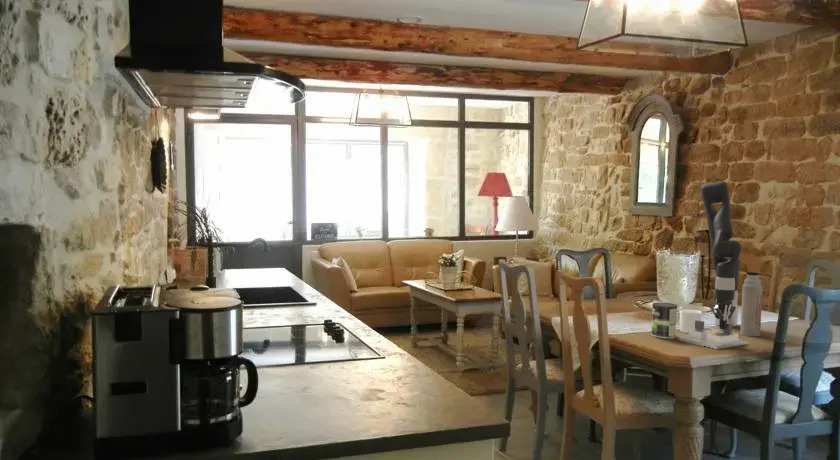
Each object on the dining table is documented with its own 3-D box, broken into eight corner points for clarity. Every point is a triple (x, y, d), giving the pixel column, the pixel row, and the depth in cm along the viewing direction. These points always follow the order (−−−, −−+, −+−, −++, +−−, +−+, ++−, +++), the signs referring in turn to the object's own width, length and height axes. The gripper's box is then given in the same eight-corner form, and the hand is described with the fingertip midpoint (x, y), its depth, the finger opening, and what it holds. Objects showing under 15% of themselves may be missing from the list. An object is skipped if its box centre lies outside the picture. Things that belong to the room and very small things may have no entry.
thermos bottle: (764, 335, 298) (767, 273, 296) (752, 337, 294) (755, 274, 293) (748, 331, 305) (750, 270, 303) (736, 333, 301) (739, 271, 300)
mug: (703, 331, 304) (704, 311, 304) (695, 334, 298) (696, 314, 297) (678, 327, 313) (678, 307, 312) (669, 330, 306) (670, 310, 306)
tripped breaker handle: (725, 331, 283) (725, 322, 282) (731, 332, 280) (732, 323, 280) (722, 331, 282) (722, 323, 281) (728, 332, 279) (729, 324, 279)
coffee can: (657, 338, 289) (658, 306, 288) (647, 333, 299) (648, 302, 298) (680, 338, 290) (681, 306, 289) (669, 333, 300) (670, 302, 299)
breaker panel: (709, 335, 296) (709, 325, 296) (746, 344, 281) (747, 333, 280) (679, 340, 286) (679, 329, 286) (716, 349, 271) (716, 338, 270)
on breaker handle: (697, 328, 287) (698, 320, 287) (703, 329, 285) (704, 321, 284) (694, 328, 286) (695, 320, 286) (700, 330, 284) (701, 321, 283)
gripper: (726, 286, 285) (724, 326, 286) (706, 287, 278) (704, 328, 279) (742, 288, 278) (740, 329, 279) (722, 290, 272) (720, 332, 273)
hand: (722, 329), depth 279 cm, fingers closed
